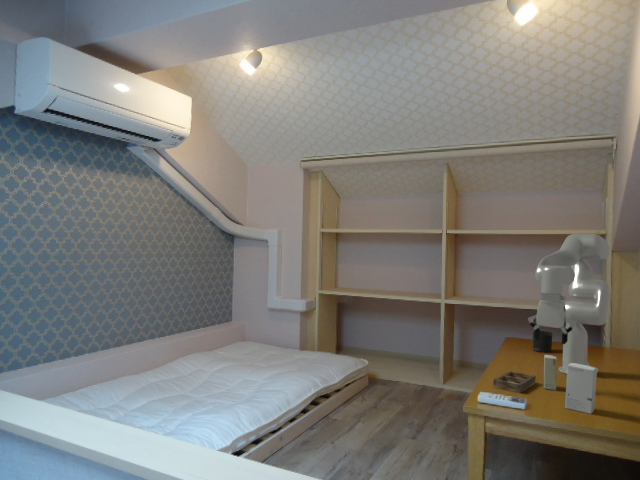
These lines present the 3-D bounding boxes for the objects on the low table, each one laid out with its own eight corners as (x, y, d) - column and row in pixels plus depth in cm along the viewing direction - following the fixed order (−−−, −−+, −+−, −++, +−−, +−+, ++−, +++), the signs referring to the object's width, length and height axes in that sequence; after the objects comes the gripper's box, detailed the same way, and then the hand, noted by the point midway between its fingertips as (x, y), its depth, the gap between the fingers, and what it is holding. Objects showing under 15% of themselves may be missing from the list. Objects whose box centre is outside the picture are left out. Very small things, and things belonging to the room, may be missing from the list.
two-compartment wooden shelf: (535, 383, 189) (535, 375, 189) (519, 393, 176) (520, 385, 176) (510, 378, 196) (510, 371, 196) (493, 387, 182) (493, 379, 183)
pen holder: (530, 348, 256) (530, 330, 256) (548, 349, 255) (548, 331, 255) (535, 352, 247) (536, 333, 247) (554, 353, 245) (555, 334, 245)
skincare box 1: (556, 390, 180) (557, 358, 180) (543, 389, 182) (544, 357, 182) (555, 386, 186) (556, 355, 186) (543, 384, 188) (544, 354, 188)
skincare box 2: (564, 408, 160) (565, 364, 160) (569, 404, 165) (569, 361, 165) (592, 414, 155) (593, 369, 155) (596, 410, 159) (597, 366, 159)
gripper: (578, 299, 181) (577, 344, 181) (531, 295, 193) (530, 337, 192) (573, 300, 176) (572, 346, 175) (525, 296, 187) (524, 339, 187)
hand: (550, 341), depth 184 cm, fingers open, 9 cm apart
